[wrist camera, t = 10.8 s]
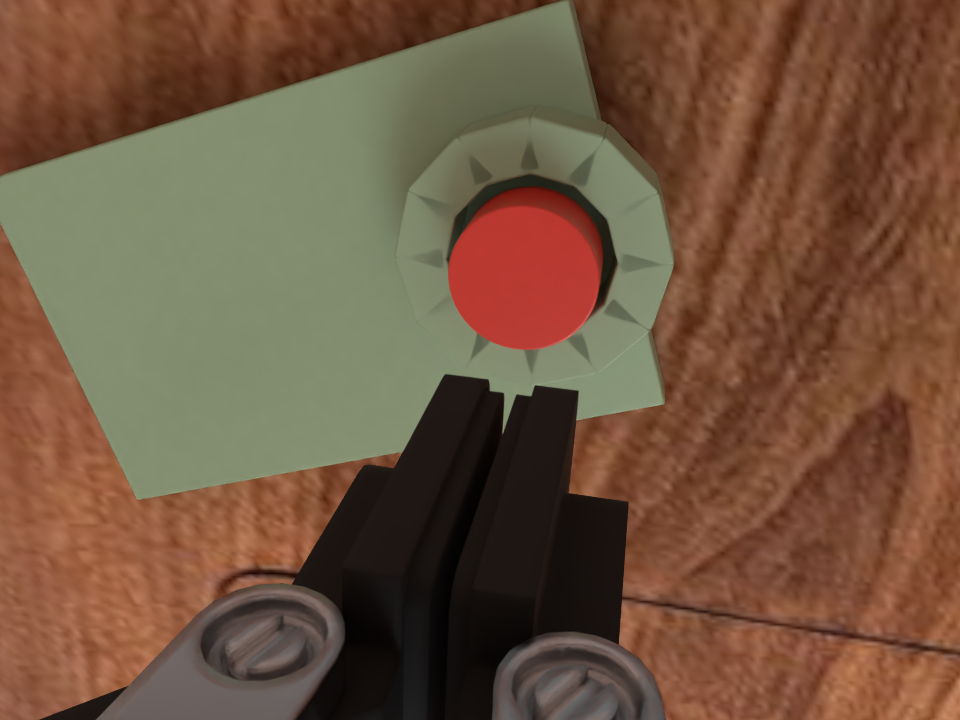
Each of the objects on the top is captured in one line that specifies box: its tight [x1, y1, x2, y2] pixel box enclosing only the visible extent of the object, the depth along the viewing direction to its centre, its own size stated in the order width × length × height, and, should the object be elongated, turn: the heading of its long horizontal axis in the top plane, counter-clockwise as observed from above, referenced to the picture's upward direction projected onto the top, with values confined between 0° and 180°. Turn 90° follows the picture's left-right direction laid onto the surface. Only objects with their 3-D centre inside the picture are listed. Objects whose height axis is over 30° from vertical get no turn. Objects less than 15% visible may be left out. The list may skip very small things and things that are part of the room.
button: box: [448, 186, 603, 350], centre depth 19 cm, size 3×3×2 cm
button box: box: [0, 0, 674, 500], centre depth 23 cm, size 17×10×3 cm, turn 106°
